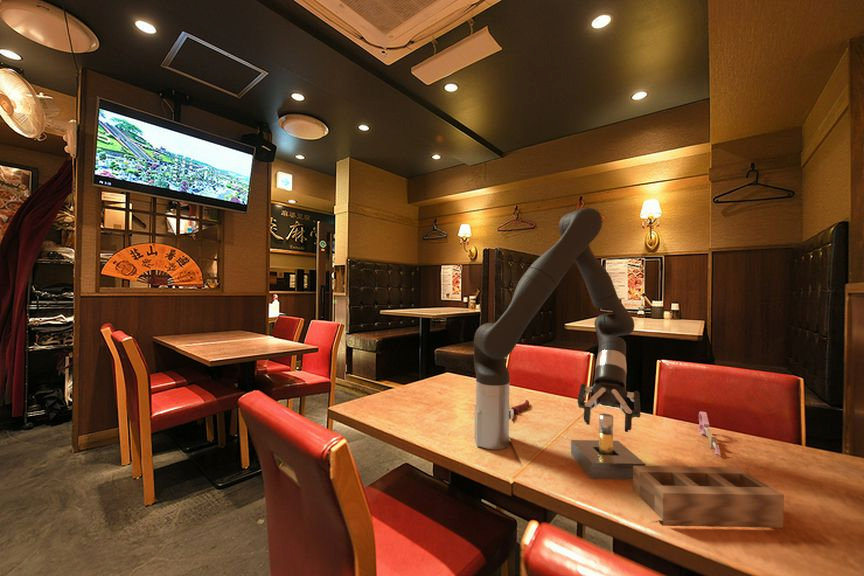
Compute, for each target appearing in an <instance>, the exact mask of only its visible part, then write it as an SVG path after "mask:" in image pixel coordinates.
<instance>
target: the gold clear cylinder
mask: <svg viewBox="0 0 864 576" xmlns="http://www.w3.org/2000/svg"><path fill="white" fill-rule="evenodd" d="M598 422H599V423H598V440H599V454H600V455H613V441H614V416H613V415H611V414H608V413H599V414H598Z"/></svg>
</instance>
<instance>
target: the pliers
mask: <svg viewBox="0 0 864 576" xmlns="http://www.w3.org/2000/svg"><path fill="white" fill-rule="evenodd" d="M529 407H530V401H529V400H528V399H525V402H523V403H521V404H518V405H515V406H512V407H510V406H509V417H510V420H511V421H513V419H514V417H515V415H518V416H519V415H520V413H521V412H523V411H526V410H528V409H529Z"/></svg>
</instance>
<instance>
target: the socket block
mask: <svg viewBox="0 0 864 576" xmlns="http://www.w3.org/2000/svg"><path fill="white" fill-rule="evenodd" d="M570 454H571V456H572V457H573V458H574V459H575V460H576V462H577V463H578V465H580V467H581V468H582V469H583V470H584V472H585V473H586V474H587V476H589V479H591V480H632V481H633V466H647V465H646V462H644V461H643V460H642V459H640V458H639V457H638V456H637V455H636V454H634V453H633V451H632V450H630V449H628V448H627V447H626V446H625V445H624V444H623V443H622V442H620V441H619V440H613V455H600V454H599V439H597V440H595V439H571V440H570Z"/></svg>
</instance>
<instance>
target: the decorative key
mask: <svg viewBox="0 0 864 576" xmlns="http://www.w3.org/2000/svg"><path fill="white" fill-rule="evenodd" d="M698 422H699V424H698V430H699V431H700V432H699V433H701V434H702V435H701V434H700V435H701V436H706V437H707V438H708V440H709V444H710V446H709V448H710V449H712V450H714V454H715V455H718V456H719V457H721V452H720V445H719V444H717V441H718V440H717V439H718V437H717V436H715V435H714V436H713V434H712V430H711V429H709V427H710V423H709V422H710V421H709V418H708V414H707V412H706V411H699V413H698Z"/></svg>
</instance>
